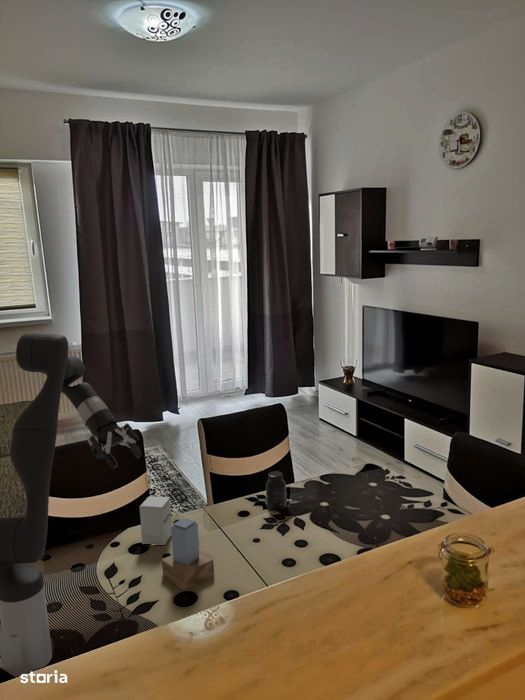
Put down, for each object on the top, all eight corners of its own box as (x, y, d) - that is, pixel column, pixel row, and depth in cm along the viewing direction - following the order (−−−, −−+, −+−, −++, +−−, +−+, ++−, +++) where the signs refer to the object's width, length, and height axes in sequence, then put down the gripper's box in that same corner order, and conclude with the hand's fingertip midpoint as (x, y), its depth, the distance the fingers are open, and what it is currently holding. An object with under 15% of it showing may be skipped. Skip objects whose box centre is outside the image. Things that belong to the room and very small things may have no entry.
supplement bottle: (263, 505, 194) (262, 472, 192) (281, 500, 197) (279, 468, 195) (272, 513, 188) (270, 479, 186) (290, 508, 191) (289, 475, 189)
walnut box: (183, 591, 147) (182, 574, 146) (163, 576, 154) (161, 559, 154) (214, 576, 154) (213, 559, 153) (193, 562, 161) (192, 545, 160)
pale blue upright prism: (187, 565, 150) (185, 528, 148) (173, 560, 153) (171, 524, 151) (199, 556, 154) (197, 520, 152) (184, 552, 157) (183, 516, 155)
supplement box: (164, 546, 169) (161, 507, 167) (141, 545, 171) (138, 506, 169) (173, 534, 176) (170, 496, 174) (151, 533, 178) (148, 495, 176)
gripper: (81, 414, 152) (113, 462, 147) (121, 402, 163) (152, 446, 159) (70, 430, 156) (102, 477, 151) (110, 417, 167) (140, 460, 163)
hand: (128, 461), depth 155 cm, fingers open, 8 cm apart
